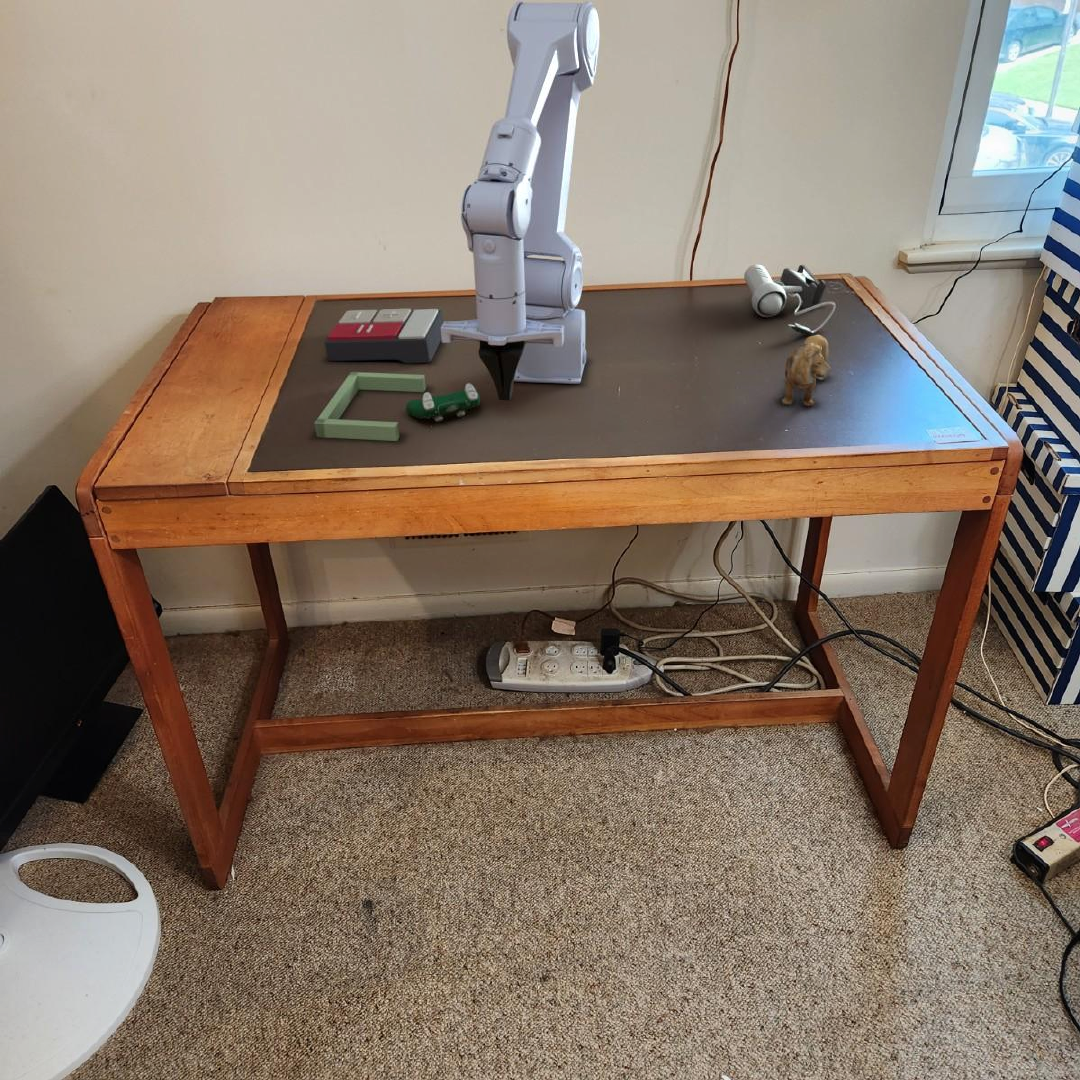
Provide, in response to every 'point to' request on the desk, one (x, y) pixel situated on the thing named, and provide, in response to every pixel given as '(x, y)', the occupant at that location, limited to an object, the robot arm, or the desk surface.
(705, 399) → the desk surface
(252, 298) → the desk surface
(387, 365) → the desk surface
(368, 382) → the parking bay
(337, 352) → the calculator
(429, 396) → the gaming controller
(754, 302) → the clip-on lamp
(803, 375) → the lion figurine
